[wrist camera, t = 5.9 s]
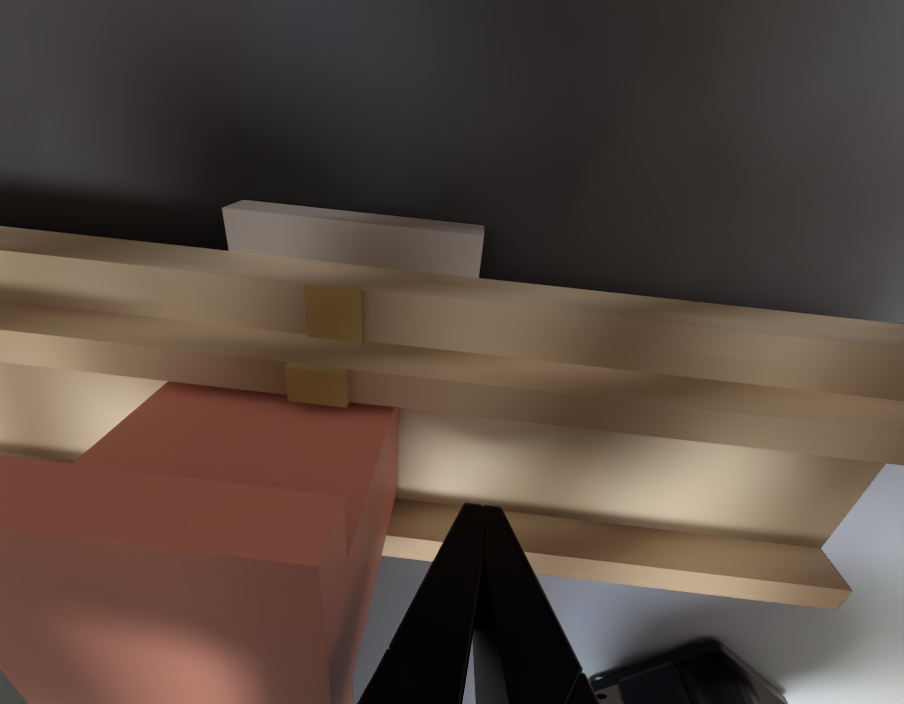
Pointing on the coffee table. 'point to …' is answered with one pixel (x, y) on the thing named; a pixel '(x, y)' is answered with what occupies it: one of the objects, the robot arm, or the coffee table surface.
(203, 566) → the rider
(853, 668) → the coffee table surface
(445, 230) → the beam
